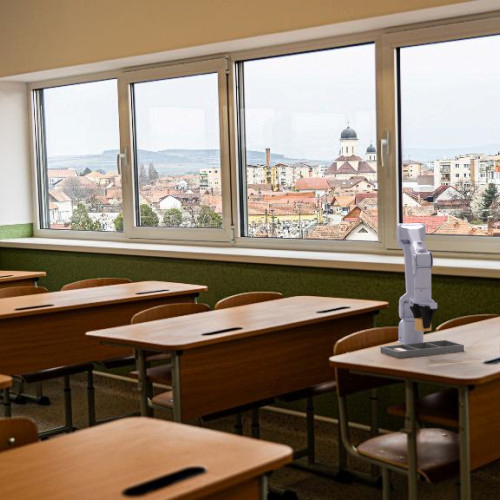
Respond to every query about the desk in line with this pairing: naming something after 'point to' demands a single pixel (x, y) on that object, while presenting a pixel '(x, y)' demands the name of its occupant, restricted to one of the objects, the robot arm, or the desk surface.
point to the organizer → (422, 348)
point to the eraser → (400, 349)
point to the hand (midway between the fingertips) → (423, 327)
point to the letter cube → (420, 325)
